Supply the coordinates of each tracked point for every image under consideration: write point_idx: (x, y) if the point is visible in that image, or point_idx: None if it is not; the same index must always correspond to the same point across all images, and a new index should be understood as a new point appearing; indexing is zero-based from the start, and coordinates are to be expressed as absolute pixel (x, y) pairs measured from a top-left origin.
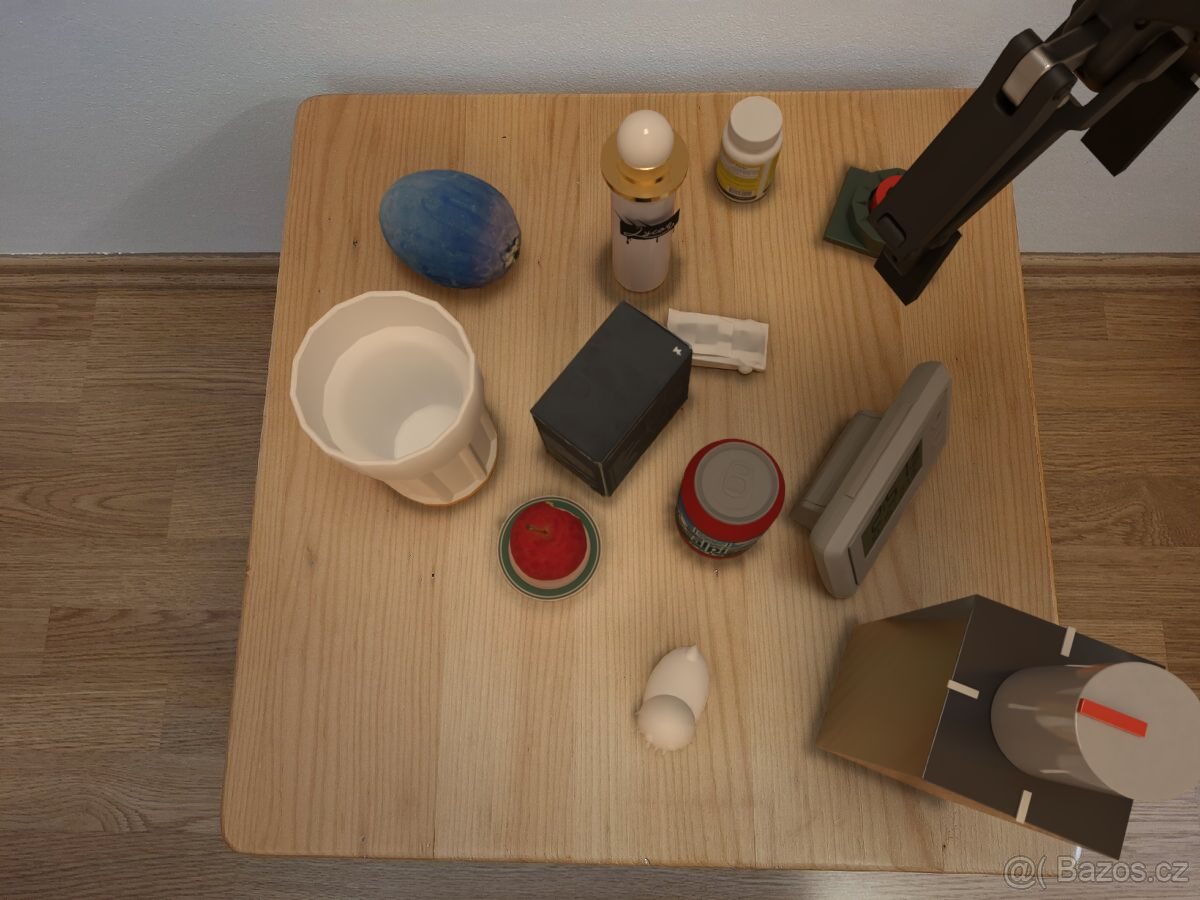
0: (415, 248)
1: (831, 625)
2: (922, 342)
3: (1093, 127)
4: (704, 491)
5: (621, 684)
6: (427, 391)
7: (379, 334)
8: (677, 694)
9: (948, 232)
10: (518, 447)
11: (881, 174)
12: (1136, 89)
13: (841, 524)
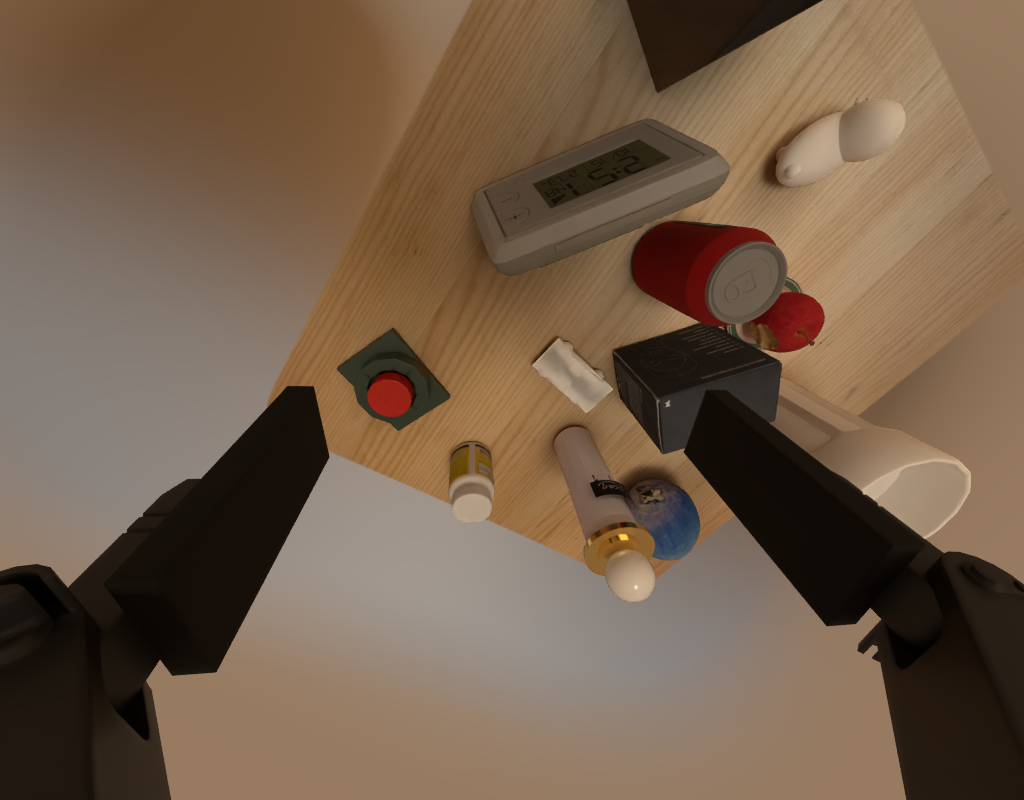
0: (699, 526)
1: (669, 109)
2: (432, 282)
3: (314, 478)
4: (769, 295)
5: (816, 190)
6: None
7: None
8: (836, 147)
9: (1016, 605)
10: None
11: (387, 418)
12: (252, 568)
13: (700, 181)
